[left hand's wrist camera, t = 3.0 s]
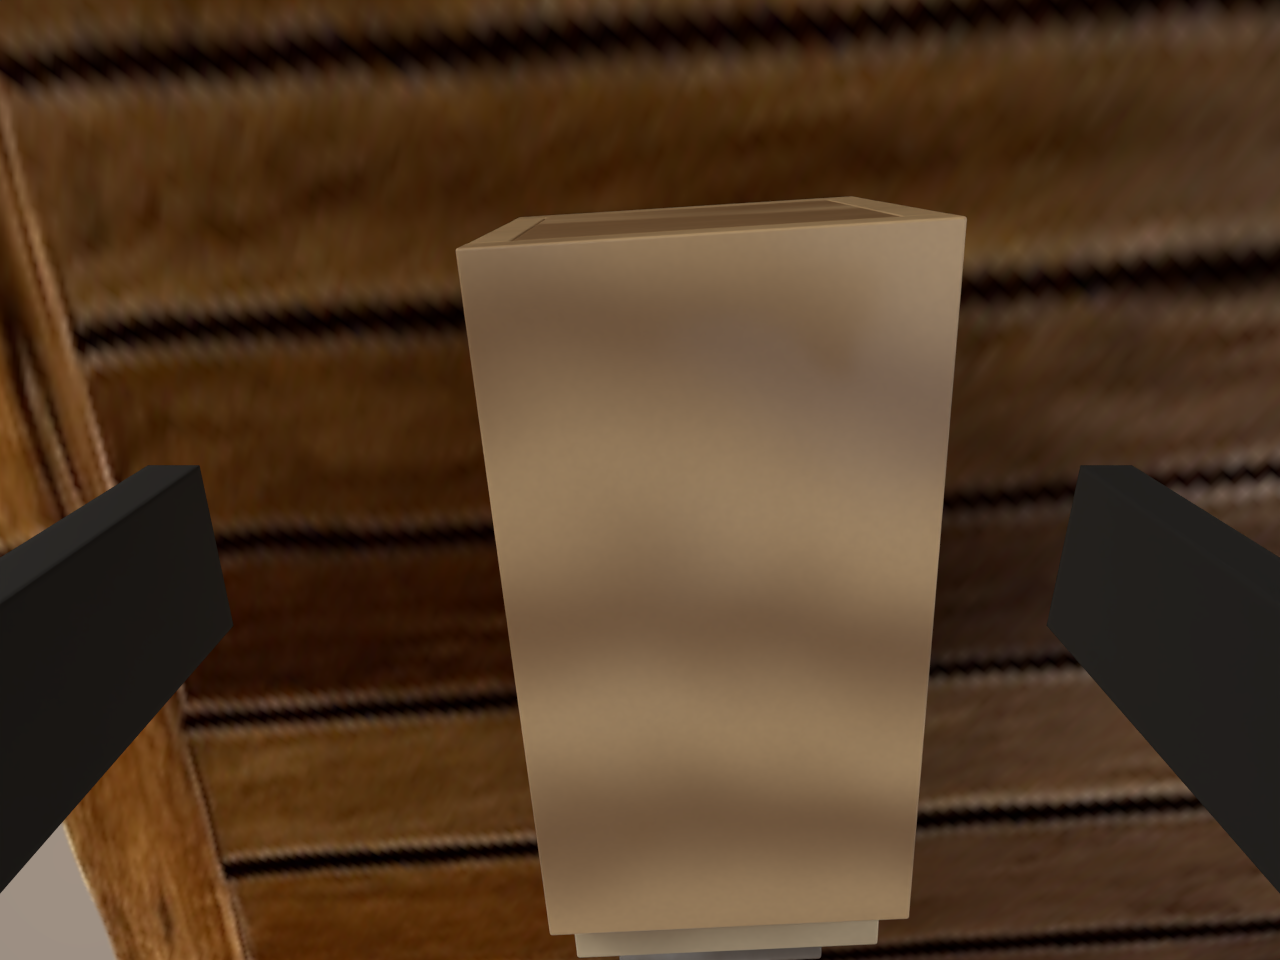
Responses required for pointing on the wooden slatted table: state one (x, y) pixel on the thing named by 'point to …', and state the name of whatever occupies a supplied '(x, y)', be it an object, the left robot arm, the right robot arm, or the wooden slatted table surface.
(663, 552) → the cabinet
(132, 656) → the left robot arm
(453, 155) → the wooden slatted table surface
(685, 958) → the drawer
